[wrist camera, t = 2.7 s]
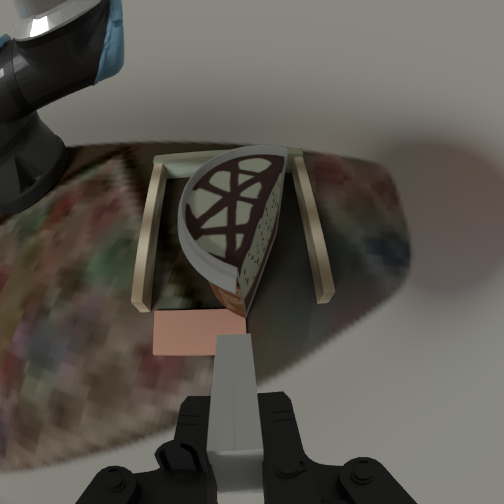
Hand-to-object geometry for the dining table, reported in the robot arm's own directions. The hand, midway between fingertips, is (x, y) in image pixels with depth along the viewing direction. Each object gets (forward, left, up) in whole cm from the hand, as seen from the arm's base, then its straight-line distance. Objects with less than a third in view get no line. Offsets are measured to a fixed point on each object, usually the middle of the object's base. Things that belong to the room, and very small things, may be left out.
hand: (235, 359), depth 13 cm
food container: (-11, 0, -11) cm, 15 cm away
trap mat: (-4, -3, -11) cm, 12 cm away
